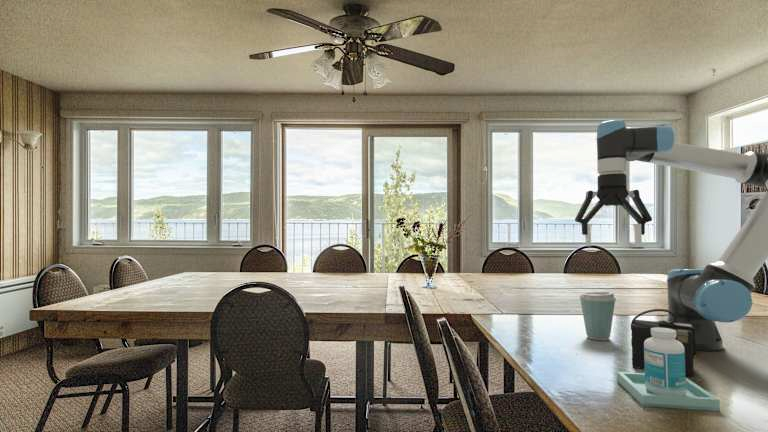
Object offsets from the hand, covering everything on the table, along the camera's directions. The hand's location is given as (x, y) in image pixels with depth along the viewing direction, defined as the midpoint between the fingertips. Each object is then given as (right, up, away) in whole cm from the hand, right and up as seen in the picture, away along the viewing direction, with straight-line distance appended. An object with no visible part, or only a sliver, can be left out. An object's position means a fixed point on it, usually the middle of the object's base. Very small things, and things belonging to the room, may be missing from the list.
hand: (613, 246), depth 124 cm
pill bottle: (-6, -30, -32) cm, 44 cm away
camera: (+5, -31, -15) cm, 34 cm away
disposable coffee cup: (+3, -31, +14) cm, 34 cm away
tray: (-6, -30, -32) cm, 44 cm away
